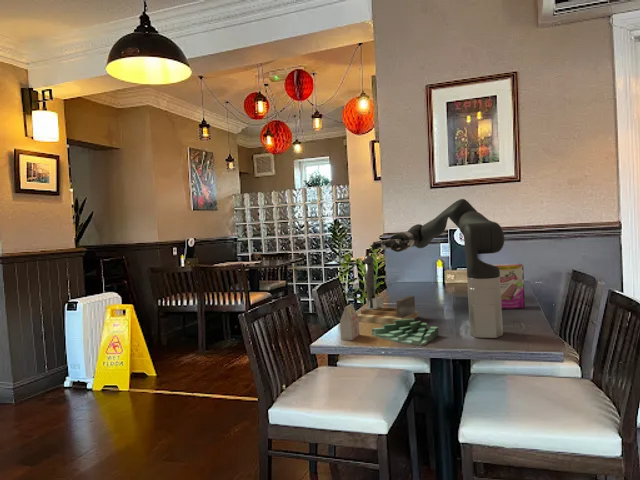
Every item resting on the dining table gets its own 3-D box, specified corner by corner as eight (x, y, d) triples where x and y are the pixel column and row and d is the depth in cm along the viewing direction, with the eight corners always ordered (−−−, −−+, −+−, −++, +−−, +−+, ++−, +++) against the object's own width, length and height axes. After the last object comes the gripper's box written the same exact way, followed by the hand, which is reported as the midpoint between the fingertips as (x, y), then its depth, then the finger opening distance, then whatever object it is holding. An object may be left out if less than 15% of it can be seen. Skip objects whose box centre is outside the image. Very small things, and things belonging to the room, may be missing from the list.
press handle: (364, 313, 173) (360, 256, 172) (370, 310, 177) (367, 254, 176) (377, 314, 169) (373, 255, 169) (384, 311, 173) (380, 254, 173)
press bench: (355, 321, 170) (354, 299, 170) (375, 313, 181) (373, 293, 181) (400, 325, 159) (398, 301, 159) (417, 316, 170) (416, 295, 170)
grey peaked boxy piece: (341, 339, 145) (339, 307, 144) (348, 334, 151) (346, 303, 150) (352, 340, 143) (350, 307, 143) (359, 334, 149) (357, 303, 149)
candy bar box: (494, 309, 174) (492, 265, 173) (491, 307, 179) (488, 264, 178) (526, 308, 173) (523, 264, 172) (521, 305, 178) (519, 263, 177)
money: (444, 334, 145) (443, 318, 145) (423, 347, 131) (422, 330, 131) (385, 329, 156) (384, 314, 156) (361, 341, 143) (360, 325, 143)
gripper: (386, 232, 198) (365, 237, 186) (416, 232, 190) (397, 237, 177) (387, 250, 199) (367, 256, 186) (418, 250, 190) (399, 257, 178)
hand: (382, 247), depth 182 cm, fingers open, 8 cm apart
